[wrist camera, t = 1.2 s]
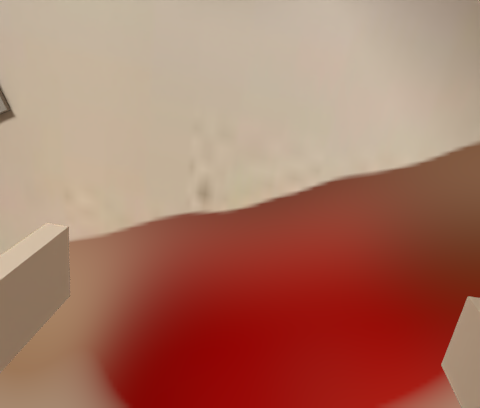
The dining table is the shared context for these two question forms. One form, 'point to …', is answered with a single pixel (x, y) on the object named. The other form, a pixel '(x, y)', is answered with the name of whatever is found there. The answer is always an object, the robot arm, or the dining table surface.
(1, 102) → the mat
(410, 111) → the dining table surface
